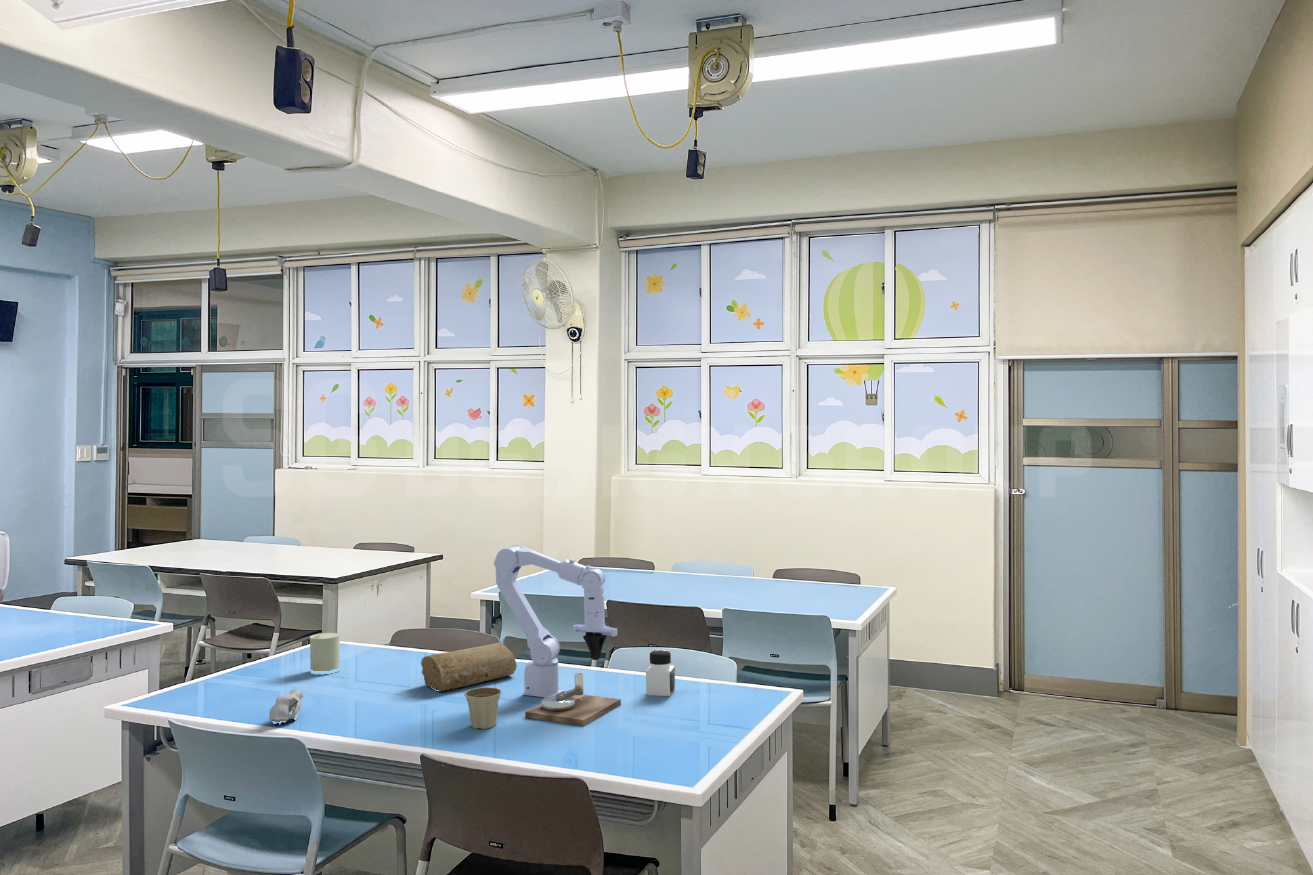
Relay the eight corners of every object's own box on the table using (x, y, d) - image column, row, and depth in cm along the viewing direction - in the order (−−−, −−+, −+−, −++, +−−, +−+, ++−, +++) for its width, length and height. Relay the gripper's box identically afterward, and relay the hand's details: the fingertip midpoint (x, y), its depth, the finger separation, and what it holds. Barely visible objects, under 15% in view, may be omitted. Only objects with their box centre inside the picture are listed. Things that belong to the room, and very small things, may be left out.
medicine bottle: (670, 696, 258) (669, 654, 258) (646, 695, 260) (645, 653, 259) (675, 689, 265) (674, 648, 265) (651, 688, 266) (650, 647, 266)
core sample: (517, 677, 282) (516, 645, 282) (442, 695, 263) (441, 661, 263) (491, 670, 292) (491, 638, 292) (417, 686, 274) (416, 653, 274)
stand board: (525, 717, 241) (525, 710, 241) (565, 697, 259) (564, 691, 259) (583, 725, 233) (583, 719, 233) (620, 704, 251) (620, 698, 251)
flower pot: (484, 733, 228) (484, 699, 228) (457, 727, 233) (456, 694, 233) (509, 723, 236) (509, 690, 236) (482, 718, 241) (482, 685, 241)
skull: (257, 718, 235) (274, 677, 244) (273, 735, 241) (289, 695, 250) (284, 717, 234) (301, 676, 243) (300, 735, 240) (315, 694, 248)
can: (303, 672, 291) (303, 635, 291) (328, 666, 299) (328, 630, 299) (321, 676, 286) (320, 638, 286) (346, 670, 294) (345, 633, 294)
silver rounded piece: (560, 712, 238) (559, 687, 238) (534, 707, 243) (533, 683, 243) (594, 698, 251) (594, 675, 251) (569, 694, 256) (569, 671, 256)
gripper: (623, 611, 260) (624, 658, 260) (582, 607, 268) (584, 653, 268) (608, 615, 254) (610, 664, 254) (567, 611, 262) (569, 658, 262)
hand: (595, 659), depth 260 cm, fingers closed
